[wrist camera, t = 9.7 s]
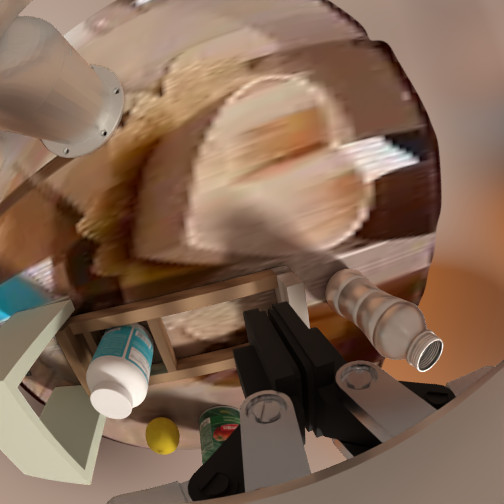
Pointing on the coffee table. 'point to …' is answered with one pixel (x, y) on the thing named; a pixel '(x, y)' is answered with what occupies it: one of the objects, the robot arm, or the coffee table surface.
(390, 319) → the plastic bottle
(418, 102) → the coffee table surface
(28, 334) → the tunnel
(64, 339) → the wooden compartment tray
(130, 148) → the coffee table surface
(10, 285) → the coffee table surface
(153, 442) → the lemon
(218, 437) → the canned tomato
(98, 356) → the pill bottle
